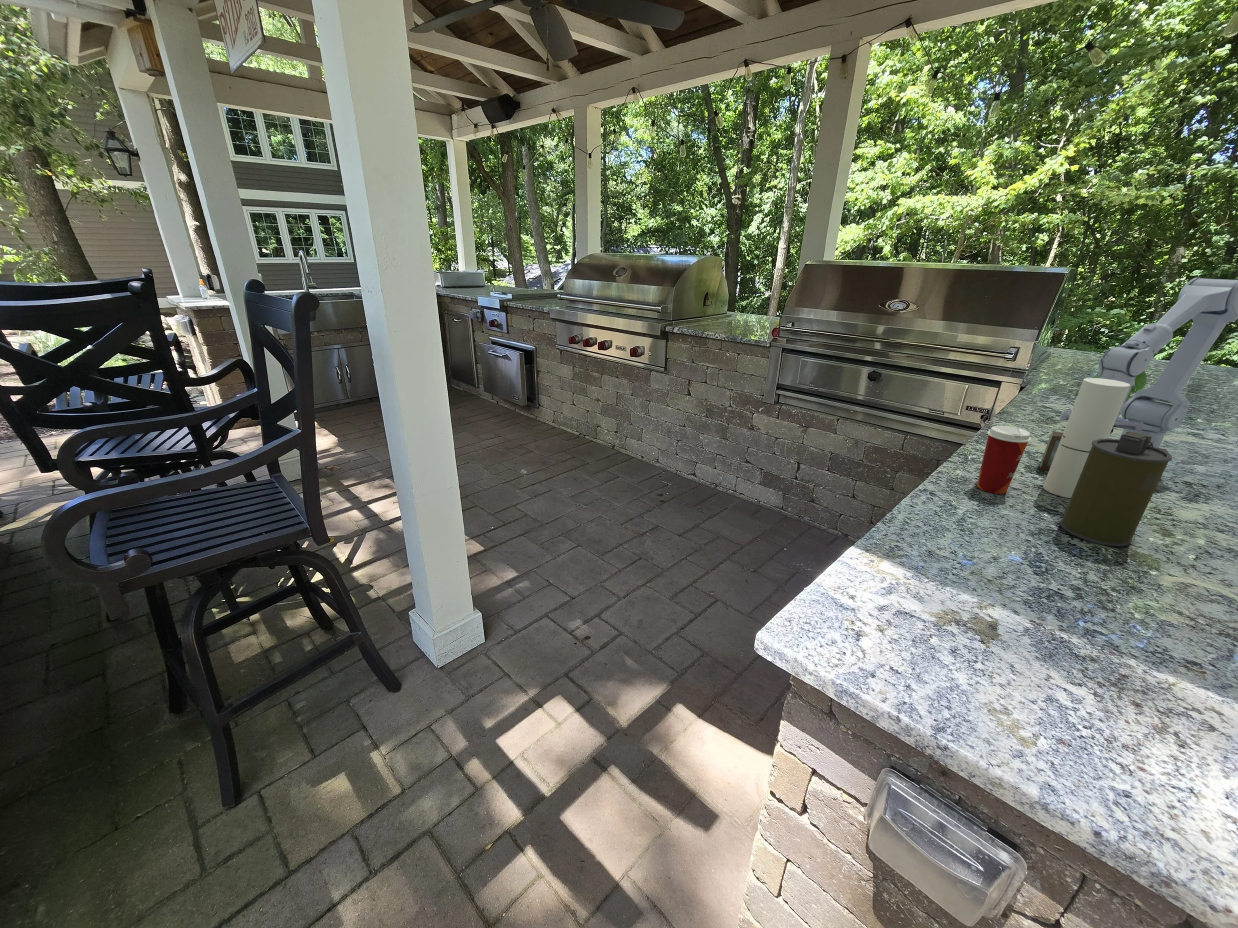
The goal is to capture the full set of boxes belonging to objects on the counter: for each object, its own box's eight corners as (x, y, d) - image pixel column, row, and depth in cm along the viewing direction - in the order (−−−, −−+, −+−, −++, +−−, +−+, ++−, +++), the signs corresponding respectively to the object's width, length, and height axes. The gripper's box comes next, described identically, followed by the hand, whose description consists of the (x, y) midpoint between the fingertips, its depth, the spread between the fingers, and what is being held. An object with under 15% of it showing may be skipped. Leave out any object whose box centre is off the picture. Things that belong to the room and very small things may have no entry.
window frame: (1039, 464, 126) (1052, 430, 122) (1149, 485, 115) (1166, 449, 111) (1039, 469, 123) (1052, 435, 120) (1152, 491, 112) (1170, 454, 108)
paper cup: (1019, 497, 109) (1040, 437, 104) (980, 494, 111) (999, 435, 105) (1001, 482, 116) (1020, 425, 111) (965, 479, 118) (982, 423, 112)
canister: (1115, 552, 89) (1164, 449, 82) (1048, 526, 98) (1086, 430, 90) (1142, 537, 94) (1191, 438, 86) (1076, 513, 103) (1114, 421, 95)
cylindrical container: (1077, 487, 114) (1121, 380, 104) (1089, 500, 108) (1136, 388, 98) (1039, 482, 116) (1078, 376, 107) (1048, 494, 111) (1090, 384, 101)
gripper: (1069, 398, 118) (1050, 450, 124) (1154, 408, 110) (1129, 465, 116) (1068, 391, 124) (1049, 442, 129) (1149, 401, 116) (1125, 455, 121)
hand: (1087, 452), depth 123 cm, fingers closed
